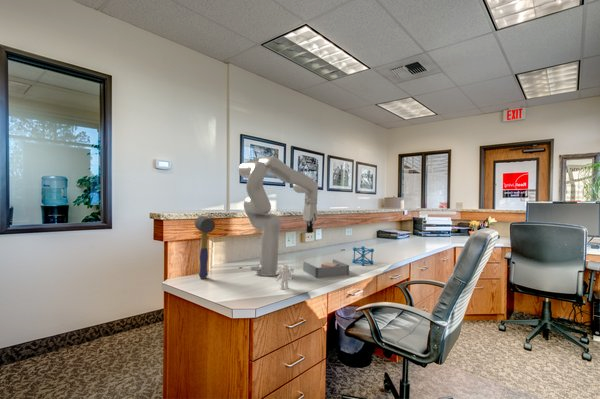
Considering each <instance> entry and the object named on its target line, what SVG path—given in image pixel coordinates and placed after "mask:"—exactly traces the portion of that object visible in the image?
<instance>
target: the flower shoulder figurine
mask: <svg viewBox="0 0 600 399" xmlns="http://www.w3.org/2000/svg"><path fill="white" fill-rule="evenodd" d="M294 270H295V269H294V267H292V266H289V265H288V263H282V262H281V266H280V268H278V270H277V272H276V274H278V273H279V275H277V277H276V280H275V281H276V283H278V281H281V282H280V287H279V290H281V291H283V290H285V289H286V290H287V289H289V284H288V282H289V280H290V281H291V280H292V279H293V277H292V276H293V275H292V274H293V273H294ZM280 278H281V280H280Z"/></svg>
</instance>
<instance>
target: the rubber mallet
mask: <svg viewBox="0 0 600 399" xmlns="http://www.w3.org/2000/svg"><path fill="white" fill-rule="evenodd" d="M194 226H195V228H196V229H197V230H198V231H200V232H201V246H200V251H199V272H198V276H199V278H200V279H206V278H207V277H208V275H209V274H208V259H209V252H208V234H209V233H211V232H213V231H214V230H215V227H216V223H215V221H214V220H213V219H212V218H210V217H208V216H199V217H196V219H195V220H194Z"/></svg>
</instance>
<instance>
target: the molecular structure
mask: <svg viewBox="0 0 600 399" xmlns="http://www.w3.org/2000/svg"><path fill="white" fill-rule="evenodd" d="M352 251H353V259H352V260H351V263H352V264H356V263H358V264H360V265H361V266H363V267H364V266H365V265H368V264H370V265H373V264H374V262H375V261H373V252H374V251H375V249H374V248H373V247H371V248H366V247H365V246H361V247H355V246H354V247H353V248H352ZM356 252H357V254H359V255H360V256H359V257H358V258H356V257H355V256H356ZM370 253H371V255H370V256H371V258H370V259H369V258H367V257H366V255H368V254H370Z"/></svg>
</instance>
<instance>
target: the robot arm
mask: <svg viewBox="0 0 600 399" xmlns="http://www.w3.org/2000/svg"><path fill="white" fill-rule="evenodd" d="M238 173H239V175H240V176H241V178H244V179H247V182H246V185H245V186H246V188H245V189H246V192H247V196H246V197H245V199H244V202H243V210H244V211H245V213H246V216H247V218H248V220H249V222H250V224H251V225H252V227H253V228H254V229H255V230H259V231H262V234H261V237H260V244H259V249H260V250H259V251H260V252H259V263H258V264H257V265H256V266H250V271H254V272H256V274H257V275H259V276H264V277H275V276H279V273H278V274H276V272H277V270H278V269H279V268H278V267H279V266H278V265H279V243H280V242H279V240H280V238H279V237H280V230H281V227H282V220H281V217H280V216H279V215H278V214H274V213H270V212H271V210H272V204H271V202H270V199H269V197H268V194H267V193H266V191H265V187H264V179H265V176H266V174H267V173H268V174H271V175H272V176H274V177H275V178H277V179H279V181H281V182H284V183H286V184H291V185H292V189H293V190H294V192H296V193H297V194H304V206H303V211H302V212H303V213H302V220H303V221H305V224H306V225H305V226H306V233H308V234H312V233H313V229H314V224H316V221H317V219H318V218H317V217H318V206H317V205H318V195H319V194H318V193H319V191H318V190H319V183H318V182H317V181H314V179H312V178H311V177H310V176H308V175H306V174H305V173H303V172H300V171H297V170H296V169H293V168H291V167H290V166H288V165H287V164H285V163H284V162H283V160H280V159H279V158H278V157H276V156H274V155H273V156H272V155H271V156H262V157H257V158H255V159H254V158H253V159H250V160H247V161H244V162H242V163H241V164H240V165H239V167H238Z"/></svg>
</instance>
